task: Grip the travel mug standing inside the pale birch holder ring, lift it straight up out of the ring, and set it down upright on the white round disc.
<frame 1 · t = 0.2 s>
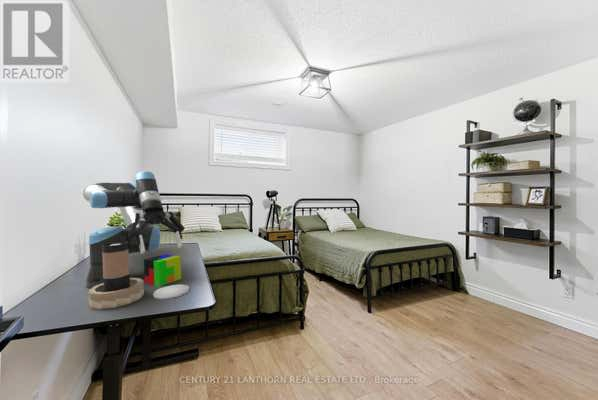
hand: (162, 249, 98), 16 cm above the table, tool tilted 35°, fingers open, 13 cm apart
holder ring: (117, 299, 90), on the table
white round disc: (171, 292, 95), on the table
travel mug: (117, 299, 90), resting in holder ring
puzzle toy: (163, 281, 109), on the table
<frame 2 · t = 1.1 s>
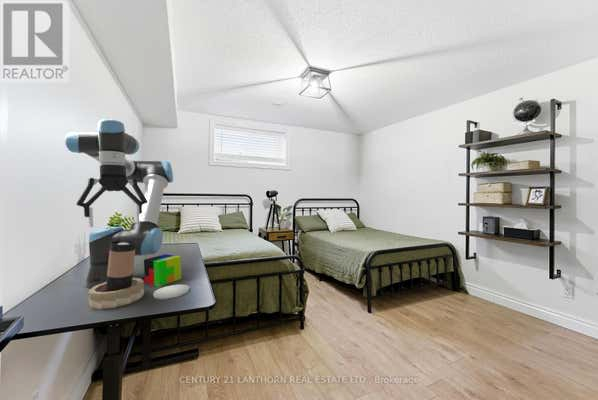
hand: (115, 224, 89), 27 cm above the table, tool pointing down, fingers open, 13 cm apart
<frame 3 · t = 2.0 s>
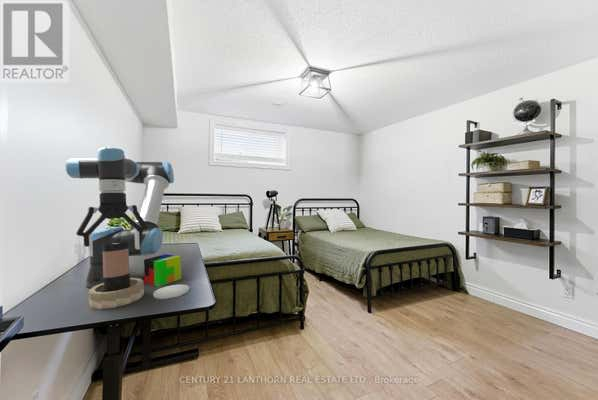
hand: (115, 252, 89), 17 cm above the table, tool pointing down, fingers open, 13 cm apart
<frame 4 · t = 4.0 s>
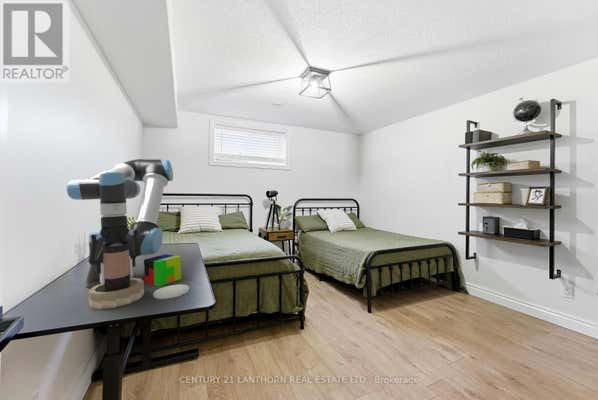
hand: (116, 279, 90), 7 cm above the table, tool pointing down, fingers closed on travel mug, 8 cm apart
travel mug: (118, 299, 90), resting in holder ring, touching gripper
everything else where it was.
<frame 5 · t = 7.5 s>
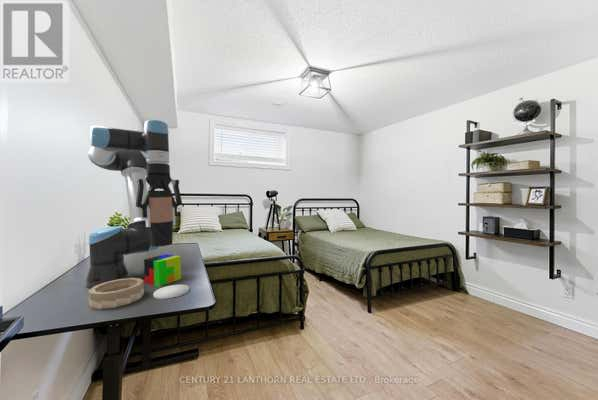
hand: (160, 225, 93), 26 cm above the table, tool pointing down, fingers closed on travel mug, 8 cm apart
travel mug: (161, 244, 93), point 18 cm above the table, touching gripper
everything else where it was.
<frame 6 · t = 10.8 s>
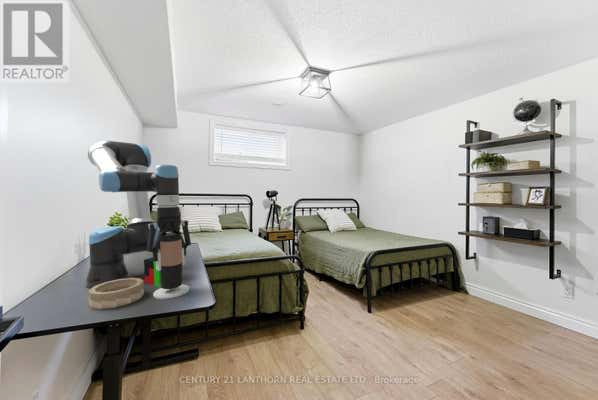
hand: (170, 267, 95), 10 cm above the table, tool pointing down, fingers closed on travel mug, 8 cm apart
travel mug: (171, 285, 95), point 2 cm above the table, touching gripper
everything else where it was.
when the fingers open (10 cm above the table, at t = 11.5 s): travel mug drops 2 cm, resting on white round disc.
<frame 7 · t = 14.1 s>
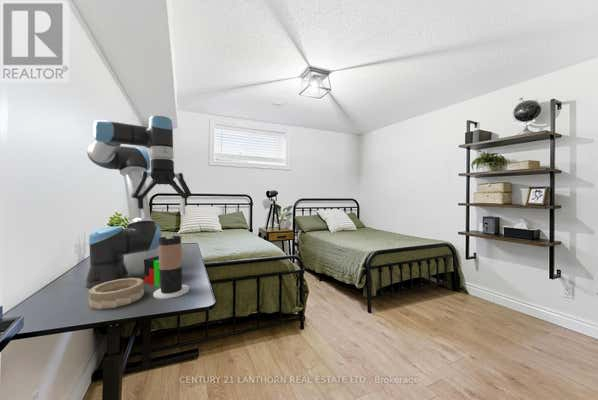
hand: (164, 216, 94), 29 cm above the table, tool pointing down, fingers open, 13 cm apart
travel mug: (171, 290, 95), point 1 cm above the table, touching white round disc
everything else where it was.
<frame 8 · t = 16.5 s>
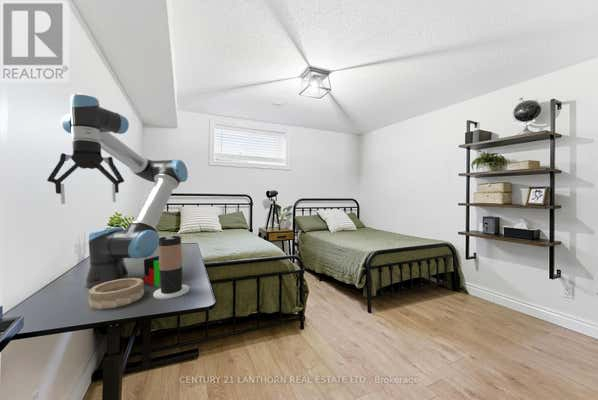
hand: (89, 203, 87), 35 cm above the table, tool pointing down, fingers open, 13 cm apart
nothing on the table moved.
at the end: travel mug inside the target area on the white round disc (0.0 cm from its centre), point 0.8 cm above the white round disc's base; travel mug tilted 2°; the gripper is holding nothing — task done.
